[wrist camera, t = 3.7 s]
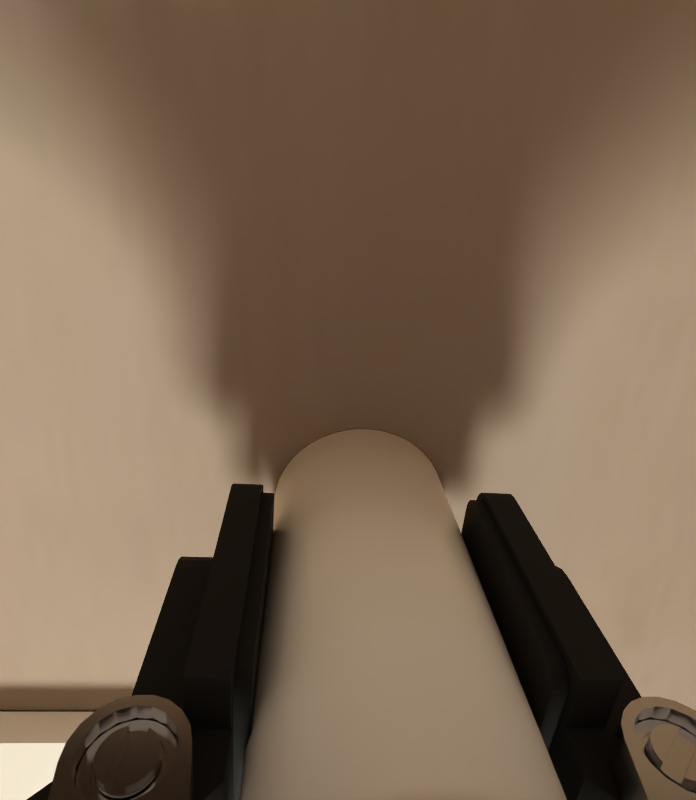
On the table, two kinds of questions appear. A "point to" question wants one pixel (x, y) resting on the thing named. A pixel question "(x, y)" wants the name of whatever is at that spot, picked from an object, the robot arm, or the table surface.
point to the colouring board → (32, 749)
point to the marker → (382, 643)
